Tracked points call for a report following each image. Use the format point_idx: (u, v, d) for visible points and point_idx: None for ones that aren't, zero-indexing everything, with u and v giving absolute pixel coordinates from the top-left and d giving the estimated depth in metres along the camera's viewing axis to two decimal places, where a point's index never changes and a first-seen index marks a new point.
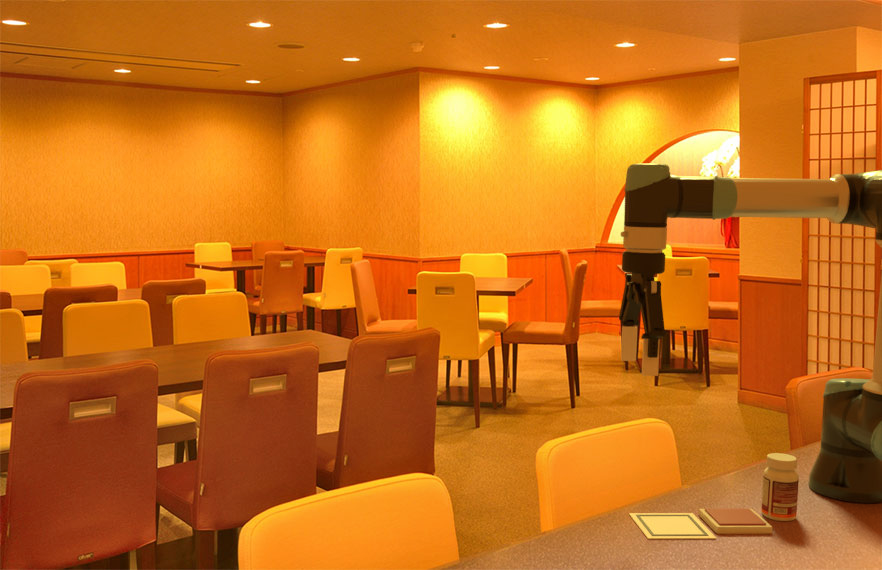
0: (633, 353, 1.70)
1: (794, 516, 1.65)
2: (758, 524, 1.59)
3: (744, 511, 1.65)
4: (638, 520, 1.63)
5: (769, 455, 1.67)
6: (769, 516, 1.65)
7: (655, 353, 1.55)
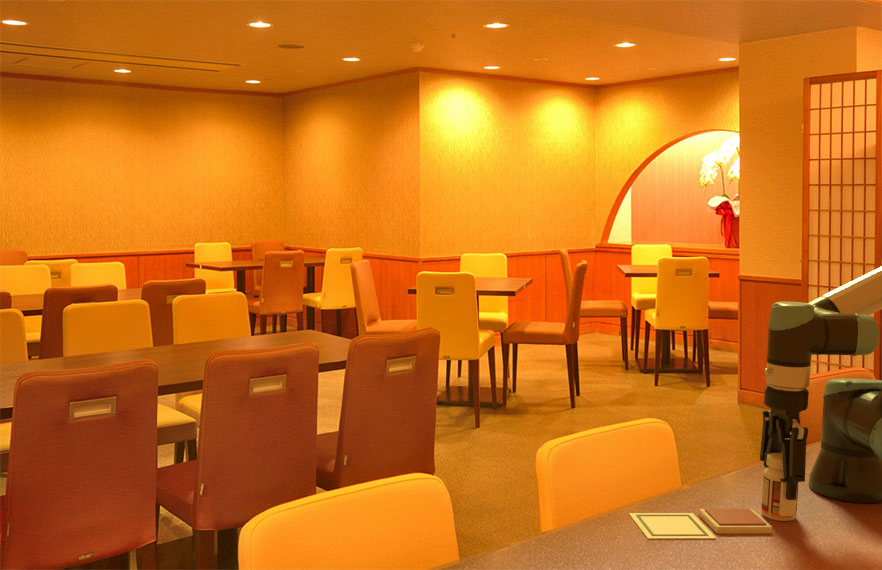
0: None
1: (794, 516, 1.65)
2: (758, 524, 1.59)
3: (744, 511, 1.65)
4: (638, 520, 1.63)
5: (769, 455, 1.67)
6: (769, 516, 1.65)
7: (794, 496, 1.62)
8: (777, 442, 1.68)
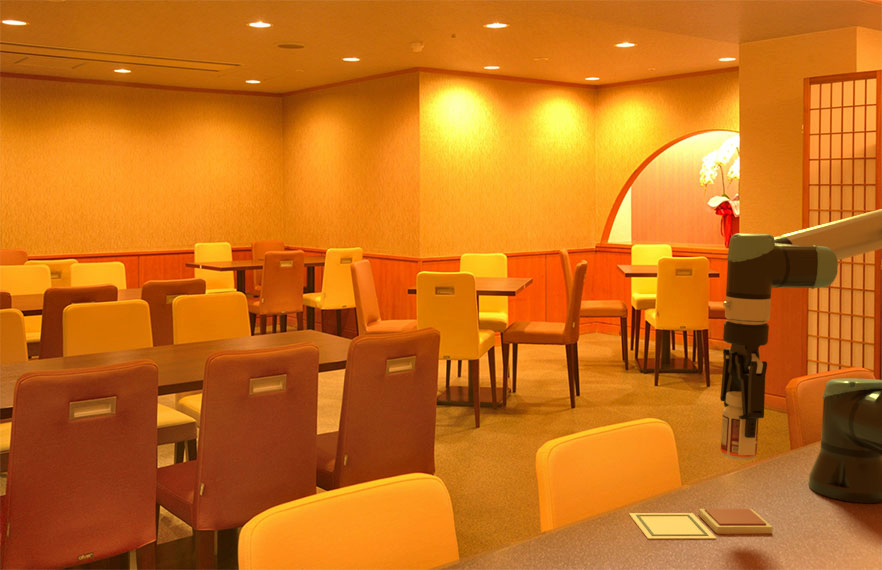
0: None
1: (754, 455, 1.59)
2: (758, 524, 1.59)
3: (744, 511, 1.65)
4: (638, 520, 1.63)
5: (728, 393, 1.61)
6: (728, 455, 1.59)
7: (753, 433, 1.56)
8: (737, 380, 1.62)
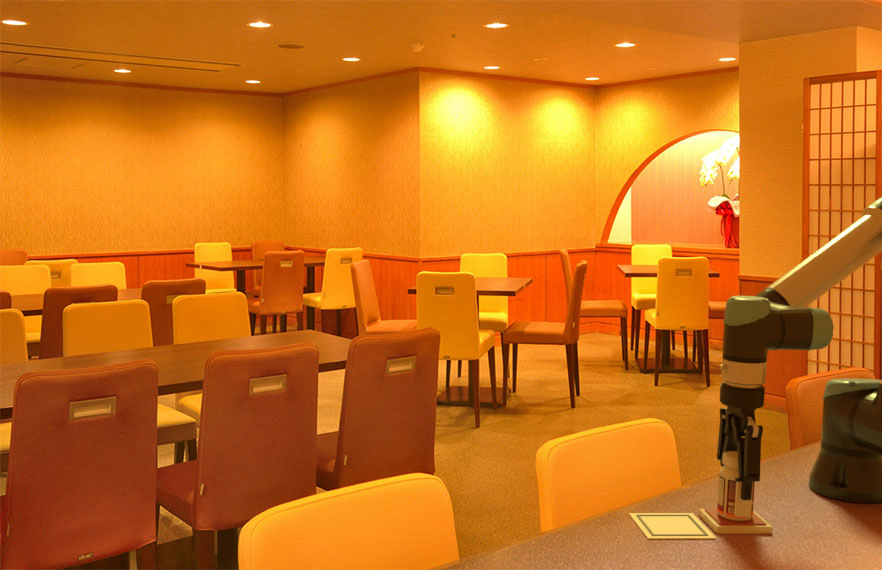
0: None
1: None
2: (758, 524, 1.59)
3: None
4: (638, 520, 1.63)
5: (725, 453, 1.62)
6: (725, 516, 1.61)
7: (749, 496, 1.57)
8: (733, 440, 1.63)
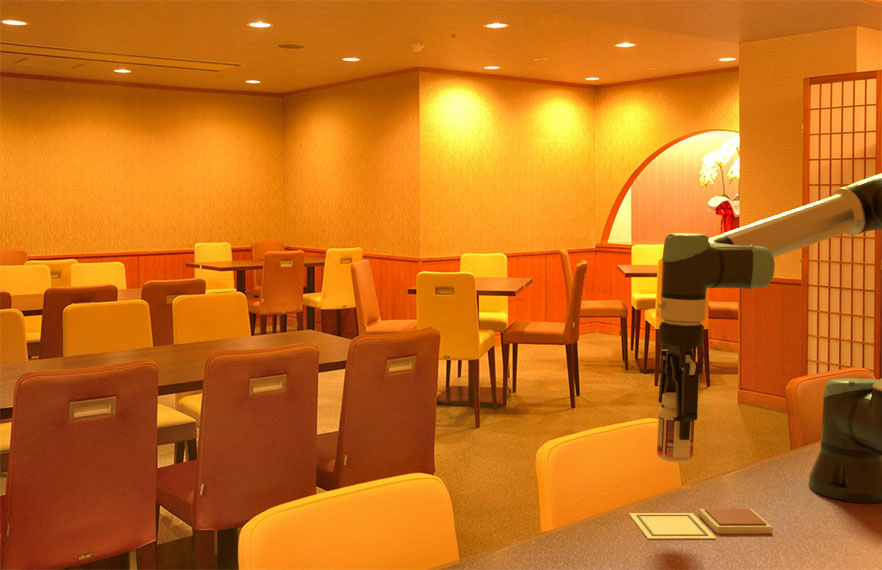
0: None
1: None
2: (758, 524, 1.59)
3: (744, 511, 1.65)
4: (638, 520, 1.63)
5: (664, 394, 1.59)
6: (663, 457, 1.58)
7: (687, 435, 1.54)
8: (674, 381, 1.60)
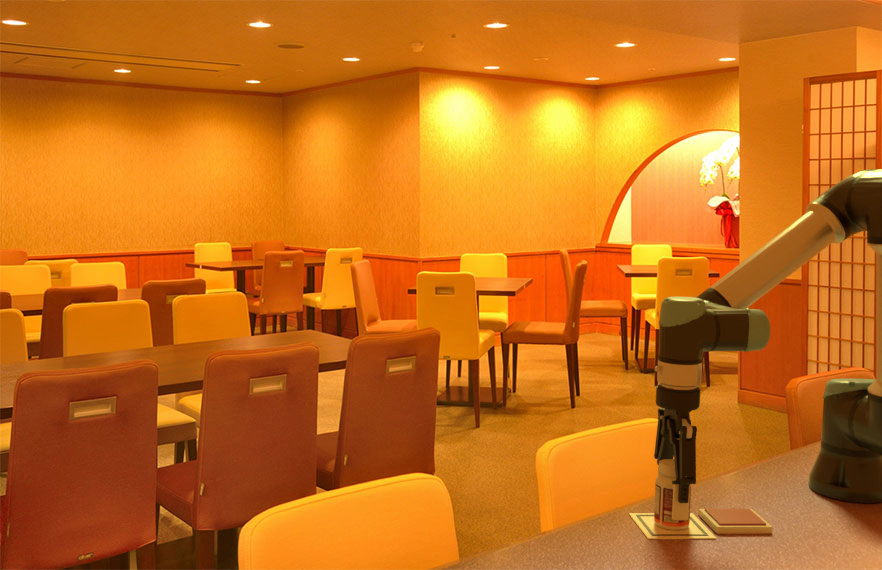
0: None
1: (686, 525, 1.59)
2: (758, 524, 1.59)
3: (744, 511, 1.65)
4: (638, 520, 1.63)
5: (661, 461, 1.61)
6: (661, 525, 1.59)
7: (686, 499, 1.54)
8: (670, 441, 1.62)
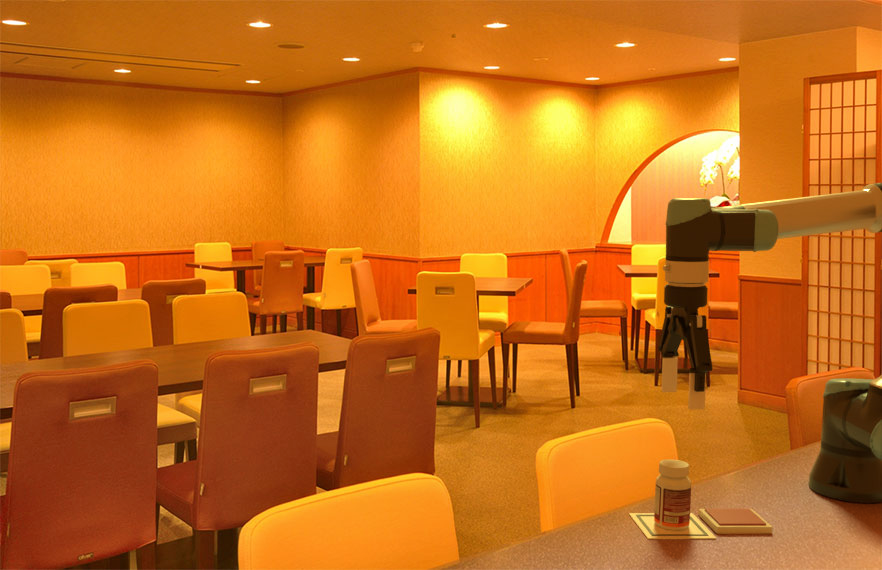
0: (673, 384, 1.71)
1: (686, 525, 1.59)
2: (758, 524, 1.59)
3: (744, 511, 1.65)
4: (638, 520, 1.63)
5: (661, 462, 1.60)
6: (661, 525, 1.59)
7: (702, 387, 1.56)
8: (676, 337, 1.67)
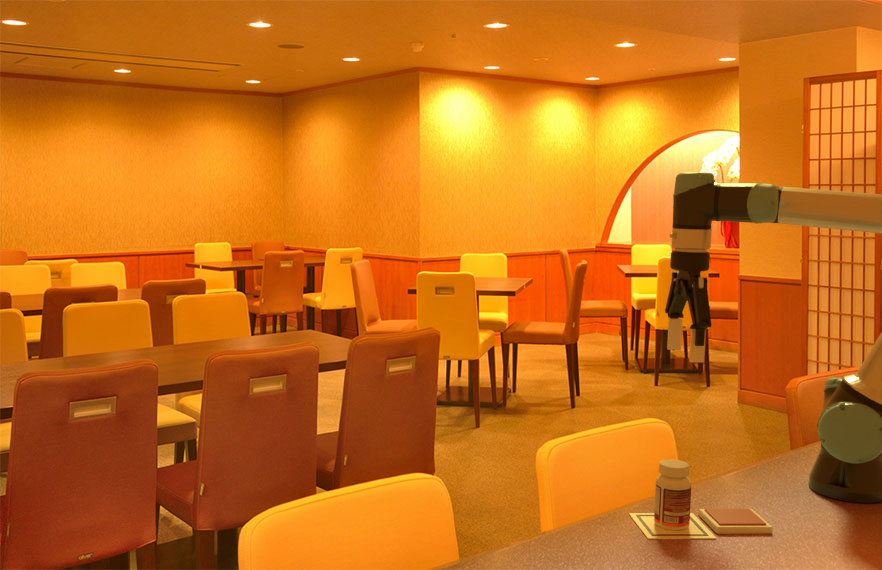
0: (678, 342, 1.88)
1: (686, 525, 1.59)
2: (758, 524, 1.59)
3: (744, 511, 1.65)
4: (638, 520, 1.63)
5: (661, 462, 1.60)
6: (661, 525, 1.59)
7: (702, 342, 1.73)
8: (681, 299, 1.84)
